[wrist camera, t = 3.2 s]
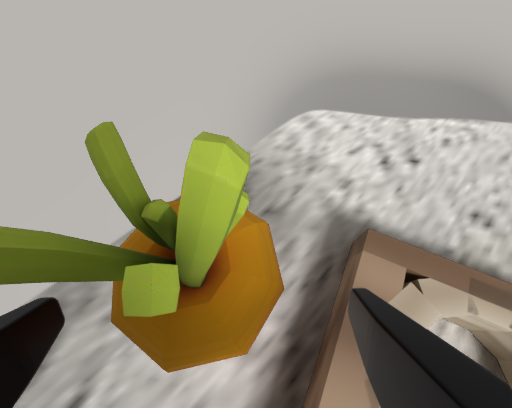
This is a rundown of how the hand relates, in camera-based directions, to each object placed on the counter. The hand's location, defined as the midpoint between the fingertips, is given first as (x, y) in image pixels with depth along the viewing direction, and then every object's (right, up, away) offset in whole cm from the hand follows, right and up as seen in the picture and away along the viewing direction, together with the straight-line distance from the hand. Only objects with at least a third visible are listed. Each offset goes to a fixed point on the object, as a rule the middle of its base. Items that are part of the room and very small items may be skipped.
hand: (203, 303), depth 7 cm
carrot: (0, -3, +9) cm, 10 cm away
